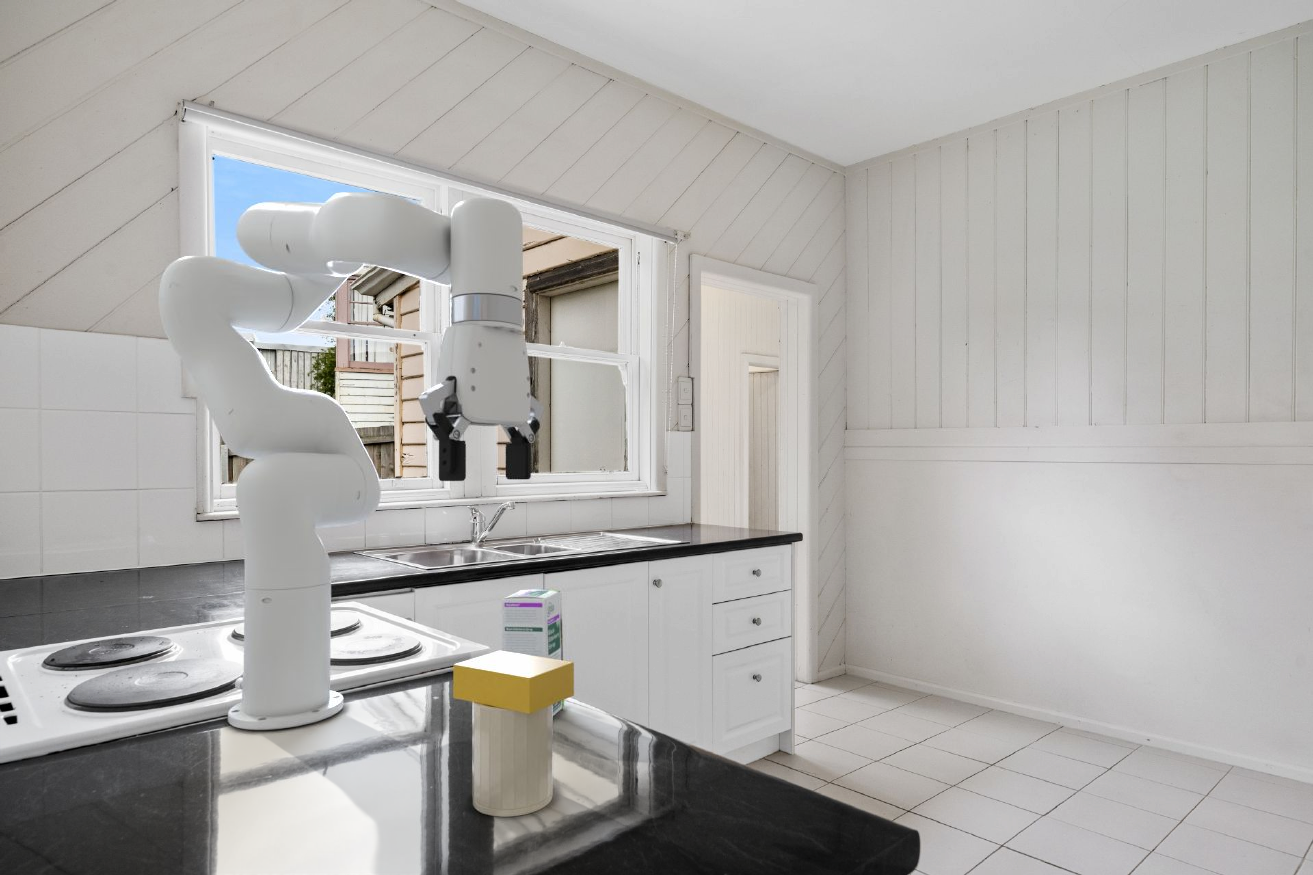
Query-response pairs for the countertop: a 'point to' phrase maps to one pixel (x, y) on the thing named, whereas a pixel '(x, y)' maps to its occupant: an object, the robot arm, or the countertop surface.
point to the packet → (513, 681)
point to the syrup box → (534, 625)
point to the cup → (511, 760)
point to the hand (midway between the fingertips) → (486, 480)
